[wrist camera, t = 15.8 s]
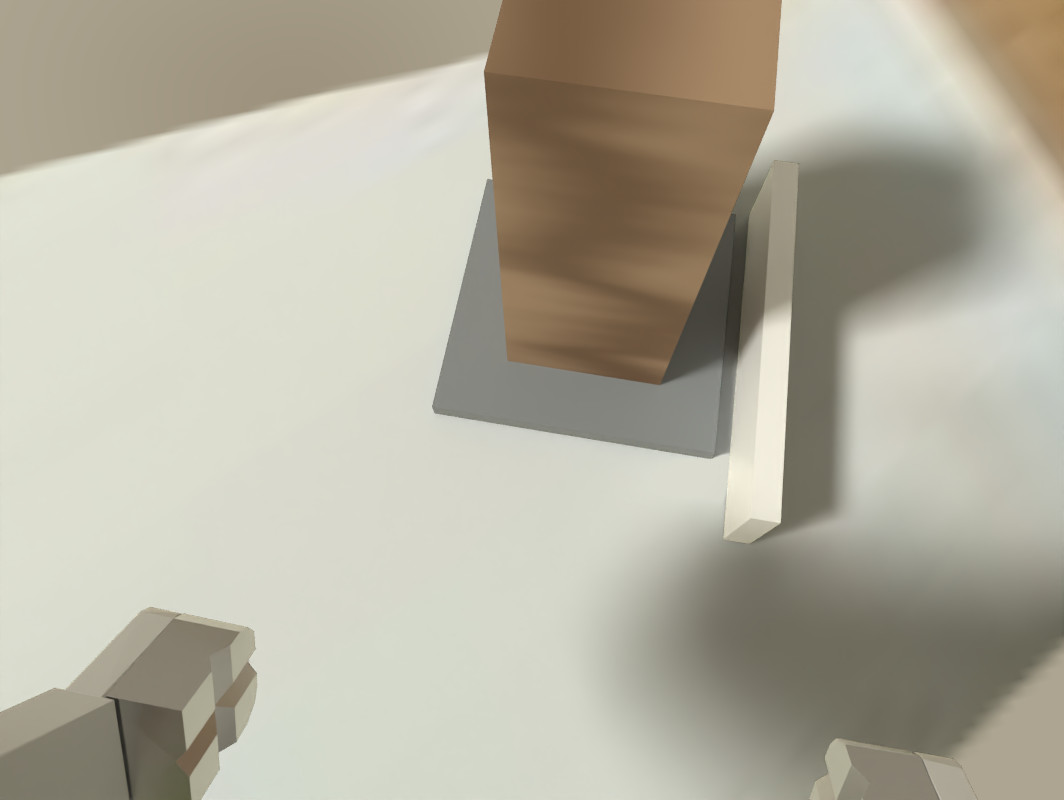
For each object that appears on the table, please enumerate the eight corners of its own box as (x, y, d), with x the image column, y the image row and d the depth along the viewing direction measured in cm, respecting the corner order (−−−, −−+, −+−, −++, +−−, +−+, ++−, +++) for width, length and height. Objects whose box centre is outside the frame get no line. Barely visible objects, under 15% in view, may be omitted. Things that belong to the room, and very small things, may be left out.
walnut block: (675, 254, 25) (787, -89, 14) (659, 385, 23) (773, 110, 12) (533, 233, 26) (534, -119, 14) (507, 360, 24) (484, 71, 13)
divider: (771, 218, 27) (799, 163, 24) (749, 543, 22) (780, 523, 19) (749, 215, 27) (774, 159, 24) (723, 539, 22) (750, 518, 19)
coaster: (731, 224, 26) (736, 214, 26) (710, 458, 23) (714, 453, 23) (488, 189, 27) (487, 179, 26) (434, 412, 24) (432, 406, 23)
